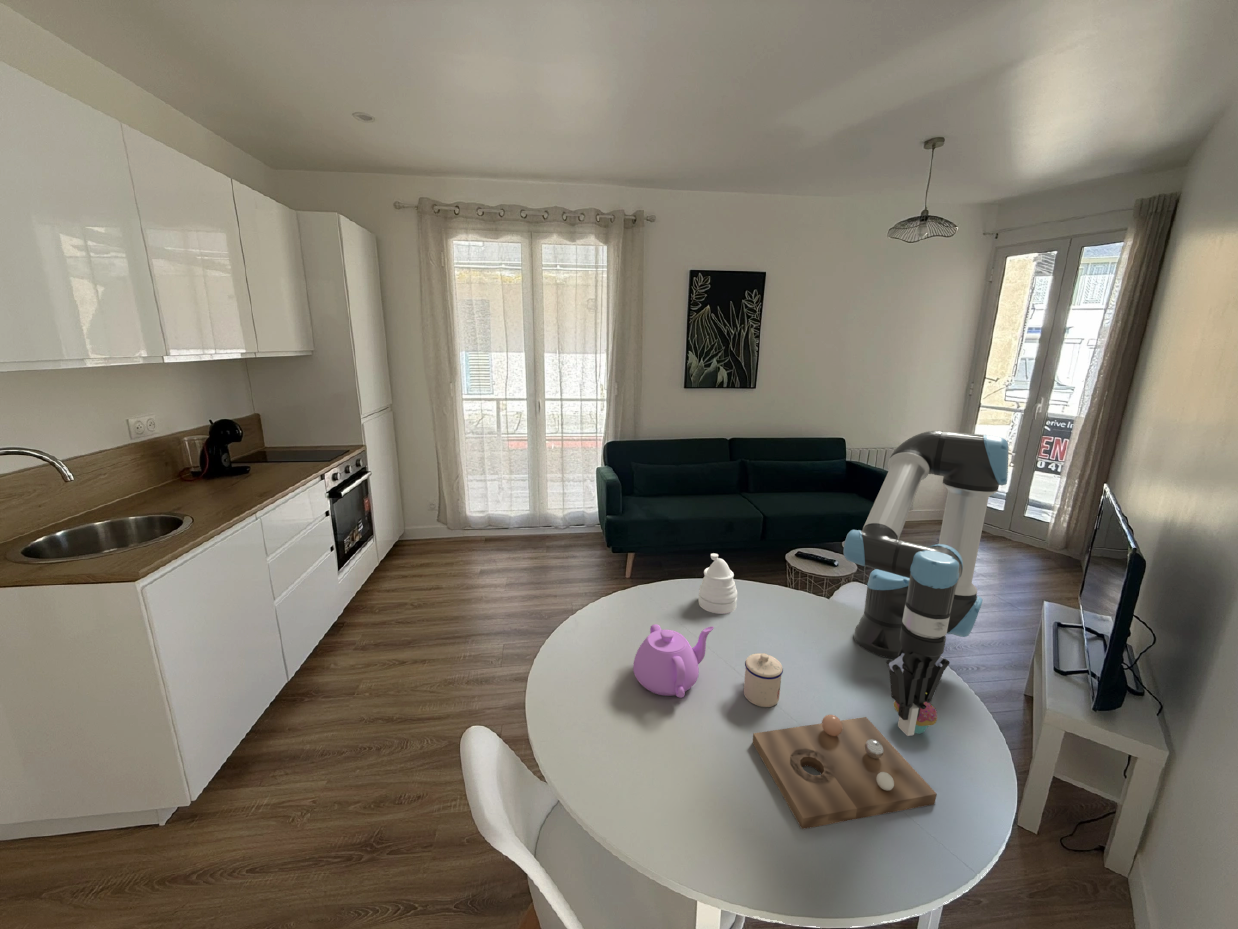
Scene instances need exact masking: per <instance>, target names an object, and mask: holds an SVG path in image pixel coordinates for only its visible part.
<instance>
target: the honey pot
mask: <svg viewBox="0 0 1238 929" xmlns="http://www.w3.org/2000/svg"><path fill="white" fill-rule="evenodd" d="M710 558H711V560H713V562H712V563H711V564H710V566H709V567H706V568H705V569H704V570H703V574H704V577H703V578H702V581H701V584H700V585H699V589H698V590H699V591H698V605H699V606H700V607H701V608H702V609H703V610H704V611H707V612H709V613H713V614H719V615H720V614H723V615H724V614H730V613H733V612H734V611H735V610H736V609H737V603H738V590H737V587H736V582H735V579H734V576H735V574H734V571H732V570H731V569H730V567H729V565H728V563H727V562H726V561H725V560H724V559H723V558H720V557H719V554H718V553H714V552H713V553H710Z"/></svg>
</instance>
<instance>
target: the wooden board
mask: <svg viewBox="0 0 1238 929" xmlns="http://www.w3.org/2000/svg"><path fill="white" fill-rule="evenodd" d="M840 721H841V723H842V726H843V729H842V732H841V734H839V735H838V736H830V735H828V734H827V733H826V732H825V731H824V729H823V727H822V722H821V723H815V724H809V725H801V726H794V727H789V728H788V727H787V728H781V729H775V730H767V731H766V730H765V731H759V732H753V735H752V744H753V746H754V748H755V750H756V752H757V753H758V755H759V757H760V758H761V761H762V762H763V764H764V765H765V767H766V769H767V771H768V773H769V774H770V776H771V777H772V780H773V781H774V782H775V785H776V786H777V788H778V790H779V791H780V793H781V795H782V797H783V798H784V800H785V802H786V804H787V806H788V808H789V809H790V811H791V812H792V816H794V819H795V820H796V822H797V823H798V825H799V827H800V828H801V830H805V829H812V828H815V827H822V826H827V825H833V824H837V823H838V824H839V823H843V822H844V823H845V822H848V821H853V820H859V819H864V818H868V817H869V818H870V817H874V816H875V817H876V816H880V815H886V814H891V813H896V812H900V811H901V812H902V811H907V810H912V809H917V808H923V807H927V806H934V805H936V799H937V792H936V791H935V790H934V789H933V788H932V787H931V786H930V785H929V783H927V782H926V780H925V779H923V777H922V776H921V775H920V774H919V773H918V772H917V771H916V769H914V767H913V766H912V765H911V764H910V763H909V762H908V761H907V760H906V759H905V758H904V756H903V755H902V754H901V753H900V752H899V751H898V750H897V749H896V748H895V747H894V746H893V744H892V743H891V742H890V741H889V740H888V739H887V738H886V736H884V735H883V733H881V731H880V730H879V729H878V728H877V727H876V726H875V725H874V724H873V723H872V722H871V720H869V718H867V716H863V717H855V718H850V719H849V718H848V719H840ZM870 739H874V740H877V741H878V742H880V744H881V745H882V747H883V750H884V753H883V755H882V757H881V758H878V759H874V758H872V757H870V756H869V755H868V754H867V753H866V751H865V743H866V741H868V740H870ZM804 767H808V768H813V769H815V770H816V771H817V772H819V774H817V775H815V774H811V773H809V772H807V771H806V770H805V769H804ZM880 772H886V773H888V774H889V775H890V776H891V777H892V778H893V780H894V787H893V788H892V789H891V790H888V791H887V790H883V789H882V788H881V787H880V786H879V785H878V783H877V780H876V778H877V775H878V774H879V773H880Z"/></svg>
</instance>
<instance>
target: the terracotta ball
mask: <svg viewBox="0 0 1238 929" xmlns="http://www.w3.org/2000/svg"><path fill="white" fill-rule="evenodd" d="M821 723H822V727H823V729H824V731H825V732H826V733H827V734H828V735H830V736H838V735H839V734H841V732H842V729H843V726H842V723H841V719H840V718H839V717H837V716H836V715H834V714H826V715H825V716H824V717H823V718H822V720H821Z"/></svg>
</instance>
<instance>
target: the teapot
mask: <svg viewBox="0 0 1238 929" xmlns="http://www.w3.org/2000/svg"><path fill="white" fill-rule="evenodd" d="M714 628H715V627H714V626H708V627H705V628H704V629H703V630H702V631H701V632H700V634H699V636H698V640H697V642H696V644H695V645H694V646H693V647H692V646H691V644H690V643H689V641H688V640H687V638H686V637H685V636H684V635H683V634H682V633H680V632H678V631H675V630H672V629H662V628H661V626H660V625H659V624H657V623H655V624H652V625H651V626H650V628H649V632H650V633H649V635H648V636H646V638H644V640H643V641H642V643H641V644H640V645H639V647H638V649H637V651H636V653H635V656H634V660H633V665H632V669H633V674H634V676H635V678H636V680H637V681H638V682H639V684H640V685H641V686H642V687H643V688H644V689H646V690H648V691H649V692H651V693H653V694H655V695H659V696H664V697H665V696H666V697H668V696H669V697H670V696H671V697H672V696H676V697H677V698H679V699H680V698H684V696H685V692H687V691H688V690H690V689H691V688H693V686H695V684H696V683H697V681H698V678H699V674H700V668H699V664H700V663H701V662H703V660H704V658H705V655H706V648H707V646H706V645H707V638H708V635H710V633H711V632H712V631H713V630H714Z"/></svg>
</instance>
